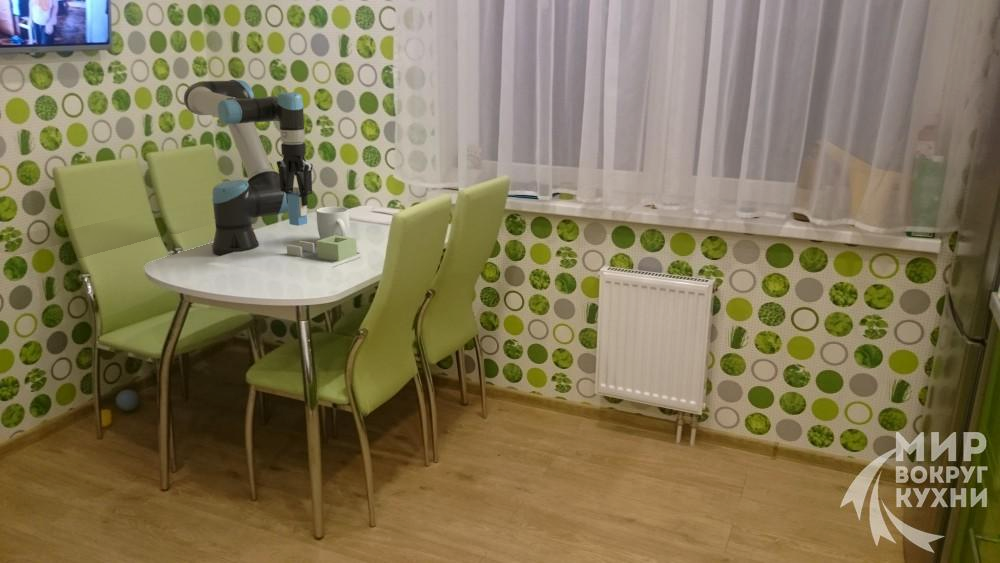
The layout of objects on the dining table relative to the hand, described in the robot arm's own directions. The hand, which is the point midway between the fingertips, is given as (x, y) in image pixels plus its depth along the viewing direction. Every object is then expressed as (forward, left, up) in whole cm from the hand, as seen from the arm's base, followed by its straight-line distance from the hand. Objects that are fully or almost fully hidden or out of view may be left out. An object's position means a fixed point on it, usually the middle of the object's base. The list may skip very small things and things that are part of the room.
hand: (297, 214), depth 264 cm
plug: (0, 0, -3) cm, 3 cm away
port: (+13, +3, -13) cm, 19 cm away
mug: (+1, +16, -15) cm, 22 cm away
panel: (+7, +3, -14) cm, 17 cm away
